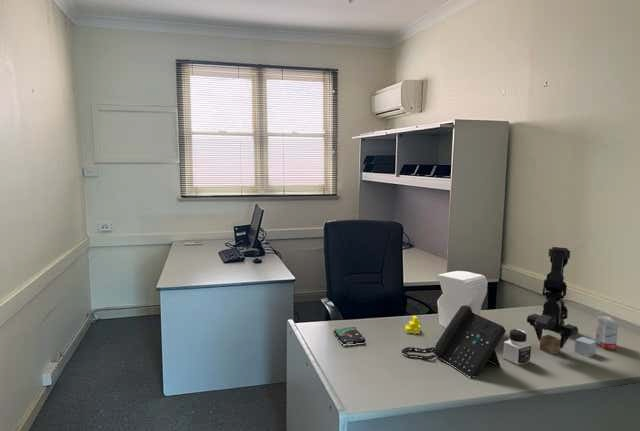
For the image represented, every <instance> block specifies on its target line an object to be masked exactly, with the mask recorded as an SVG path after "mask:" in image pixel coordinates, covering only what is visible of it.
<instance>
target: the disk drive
mask: <svg viewBox="0 0 640 431" xmlns="http://www.w3.org/2000/svg"><path fill="white" fill-rule="evenodd" d="M334 333H335V334H336V336H337V337H338V338H339V340H340V341H341V342H342V343H343V344H356V343H364V342H366V338H365V337H364V336H363V335H362V333H361V332H359V330H358V329H357V328H356V327H355V326H351V327H349V326H348V327H343V328H334V329H333V334H334ZM336 336H335V337H336ZM337 337H336V338H337ZM339 340H338V341H339ZM340 341H339V342H340Z"/></svg>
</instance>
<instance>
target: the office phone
mask: <svg viewBox="0 0 640 431" xmlns="http://www.w3.org/2000/svg"><path fill="white" fill-rule="evenodd" d="M444 329H445V328H444ZM506 331H507V330H506V328H505V327H504V326H503V325H501V324H498V323H497V322H494V321H492V320H490V319H488V318H485V317H484V316H481V315H480V316H479V315H477V314H474V313H473V312H472V309H471V307H469V306H466V305H465V306H461V307H460V309H459V310H458V312H457V313H456V314H455V316H454V317H453V319H452V320H451V322H450V323H449V325H448V326H447V328H446V329H445V330H444V331H443V333H442V334H441V335H440V337H439V339H438V340H437V341H436V343H435V347H426V348H421V347H420V348H419V347H413V346H411V347H410V346H407V347H404V348H403V349H401V354H402V353H404V354H406V355H407V356H414V357H415V356H417V357H422V358H425V359H424V360H426V359H427V360H428V359H430V360H432V359H434V358H437V357H436V356H438V357H439V358H441V359H443V360H445V361H446V362H448V363H450V364H451V365H453V366H454V367H456V368H457V369H459V370H460V371H462V372H463V373H465V374H466V375H468V376H470V377H473V376H478V377H479V375H480V374H481V371H483V369H484V367H485V365H486V364H487V362H490V361H491V362H490V363H492V362H493V363H495V364H496V365H495V364H494V365H495V366H497V365H498V366H497V367H499V366H500V367H499V368H501V364H500V361H499V358H498V355H497V352H496V347H497V346H498V345H499V343H500V341H501V339H503V337H504V335H505V333H506ZM409 349H412V350H415V349H417V350H418V351H419V350H420V351H424V350H425V351H428V352H429V351H430V350H432V349H433V350H435V351H432V354H433V353H434V354H435V355H436V356H434V355H432V354H431V355H430V354H429V355H423V354H418V353H417V354H416V353H415V354H411V353H408V351H407V350H409ZM405 350H406V352H405ZM409 351H410V350H409ZM418 351H417V352H418ZM430 352H431V351H430ZM439 358H438V359H439ZM441 359H440V360H441ZM488 360H489V361H488ZM446 362H445V363H446ZM493 363H492V364H493Z"/></svg>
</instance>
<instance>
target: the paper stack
mask: <svg viewBox="0 0 640 431" xmlns="http://www.w3.org/2000/svg"><path fill="white" fill-rule="evenodd" d="M435 276H436V277H437V279H438V282H439V284H440V288H441V291H442V292H441V293H442V294H441V296H439V298H438V299H437V300H436V301H437V313H438V314H437V315H438V322H439V325H440V324H441V325H442V326H443V327H445V328H447V326H448V325H449V323H450V322H451V320H452V319H453V317H454V316H455V314H456V313H457V312H458V310H459V309H460V307H461V306H465V305H466V306H469V307H471V309H472V312H473V313H474V314H477V315H479V316H481V311H482V305H483V303H484V300H485V298H486V296H487V293H488V283H489V282H488V281H487V278H486V276H485V275H484V274H480V273H475V272H472V271H465V270H464V271H463V270H455V271H449V272H444V273H439V274H436V275H435ZM441 325H440V326H441ZM442 326H441V327H442ZM443 327H442V328H443ZM445 328H444V329H445Z"/></svg>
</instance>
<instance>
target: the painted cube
mask: <svg viewBox="0 0 640 431" xmlns="http://www.w3.org/2000/svg"><path fill="white" fill-rule="evenodd" d="M596 350H597V342H596V341H595V340H594V339H590V338H587V337H584V336H581V337H578V338H576V339H575V341H574V353H575V354H578V355H581V356H584V357H587V358H590V357H591V356H595V355H596Z"/></svg>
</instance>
